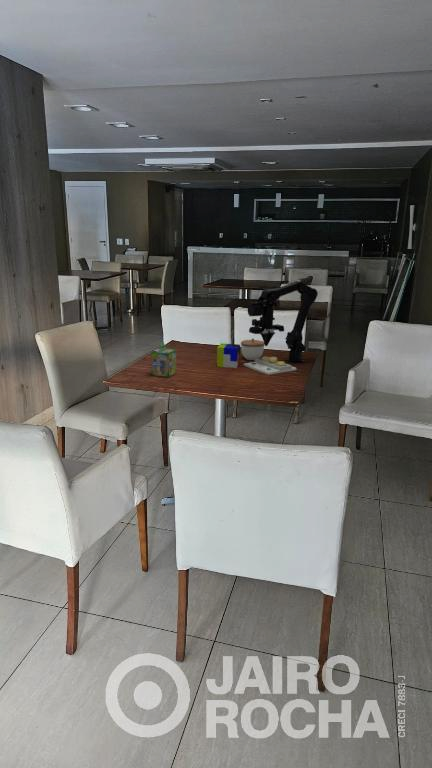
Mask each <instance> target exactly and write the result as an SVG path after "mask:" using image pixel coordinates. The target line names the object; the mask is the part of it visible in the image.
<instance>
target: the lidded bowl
mask: <svg viewBox="0 0 432 768" xmlns="http://www.w3.org/2000/svg"><path fill="white" fill-rule="evenodd" d="M264 350H265V345H264V341H263V340H258V339H255V338H251V339H245V340H242V341H241V342H240V352H241V353H242V356H243V357H244V359H246V360H247V361H255V359H259V358H262V357H263V353H264Z"/></svg>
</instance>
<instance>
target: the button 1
mask: <svg viewBox="0 0 432 768" xmlns="http://www.w3.org/2000/svg"><path fill="white" fill-rule="evenodd" d="M269 357H270V356H266V355H264V356H263V355H262V356H261V358H262V361H269Z"/></svg>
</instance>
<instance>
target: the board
mask: <svg viewBox="0 0 432 768" xmlns="http://www.w3.org/2000/svg"><path fill="white" fill-rule="evenodd" d="M278 361H279V360H277V362H278ZM243 366H244V367H247V368H249V369H252V370H255V371H257V372H260V373H262V374H265V375H268V376H269V375H274V374H275V375H276V374H279V373H280V374H281V373H285V372H291V371H292V372H293V371H297V367H295V366H292V365H291V364H288V363H285V366H282V367H280V366H277V363H275V364H272V363H269V361H262V357H260V358H259V359H255V360H254V361H253V362H246V363H243Z"/></svg>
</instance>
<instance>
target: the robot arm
mask: <svg viewBox="0 0 432 768" xmlns="http://www.w3.org/2000/svg"><path fill="white" fill-rule="evenodd" d="M293 292H298V294H300V296H299V297H300V306H299V309H298V312H297V315H296V319H295V321H294V325H293V328H292V330H291V331H288V332H287V333H286V337H285V338H284V339H285V344H286V345H287V349H289V353H288V359H287V361H288V362H291V363H294V364H296V363H301V362H302V363H304V361H305V360H304V359H303V352H305V351H306V346H305V345H304V343H303V339H304V338H303V330H304V328H305V324H306V321H307V317H308V315H309V313H310V312H309V311H310V308H311V306H312V305H313V304H314V303H315V302H316V299H317V298H318V295H319V294H318V291H317V289H316V288H312V287H311V286H310V285H307V284H306V283H304V282H303V281H298V280H296V281H294V282H292V283H289V284H285V285H283V286H280V287H278V288H268V289H263V290H262V291H261V294H260V296H259V298H257V300H256V302H253V301H252V302H249V303H250V304H249V305H248V308H247V314H248V316H249V317H259V319H258V320H257V318H253V319H251V326H250V327H249V329H248V332H249V333H250V334H254V335H260V336H261V338H262V341H263V342H264V347H268V345H269V343H270V341H271V340H272V338H273V337H274V335H275V334H276V332H275V331H278V332H281V333H282V332H285V326H284V325H281V324H278V323H277V324H274V321H275V320H276V319H275V317H274V313H275V311H274V307H278V304H277V302H276V301H278V300H279V299H280V298H281V297H283V296H286V295H289V294H291V293H293Z"/></svg>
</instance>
